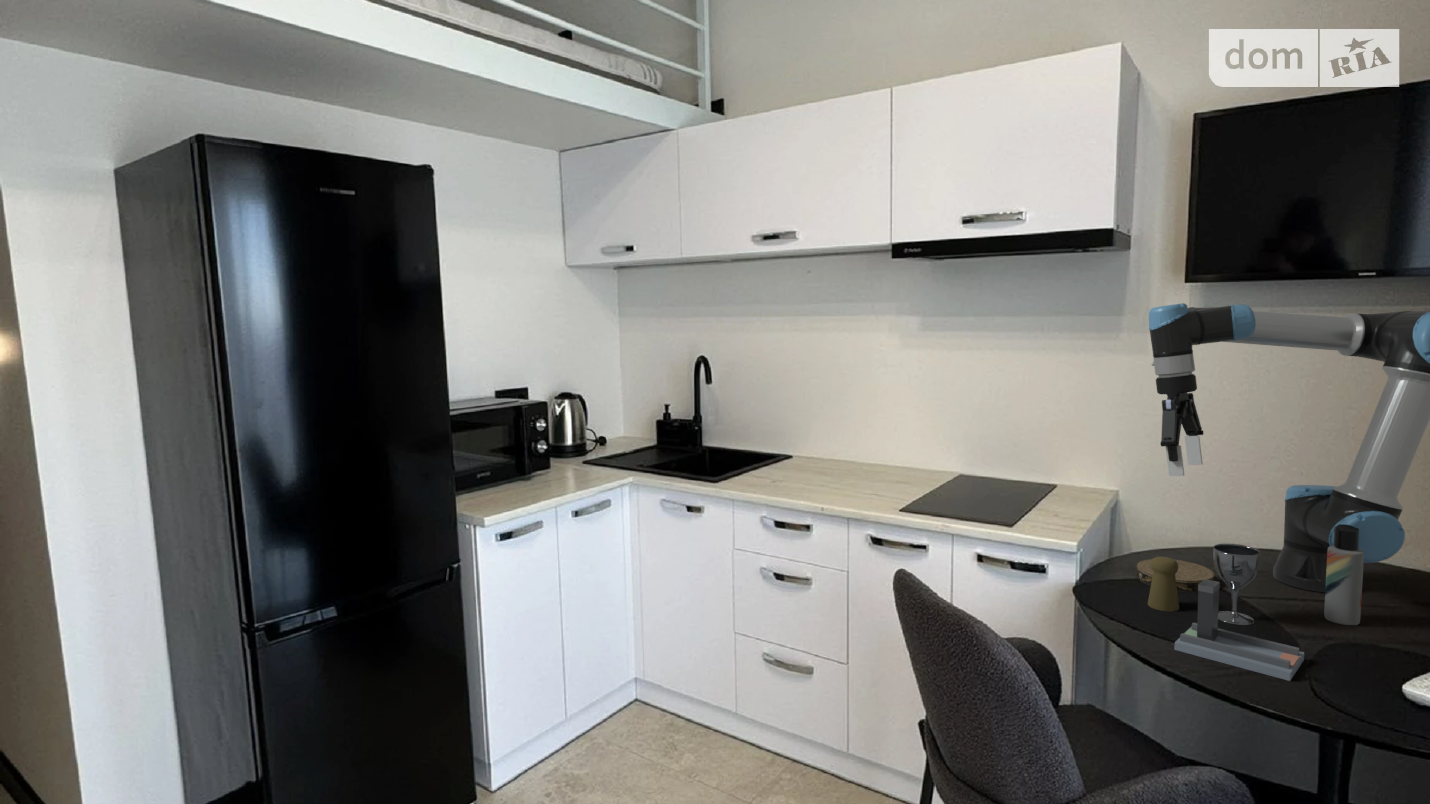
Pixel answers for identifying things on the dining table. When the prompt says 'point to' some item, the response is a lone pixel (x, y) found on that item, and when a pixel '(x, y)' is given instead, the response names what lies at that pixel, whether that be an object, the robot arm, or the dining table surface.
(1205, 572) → the wood slice
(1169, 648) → the dining table surface
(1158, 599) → the cork
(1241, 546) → the wine glass
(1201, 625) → the handle
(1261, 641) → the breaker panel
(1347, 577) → the lotion bottle
